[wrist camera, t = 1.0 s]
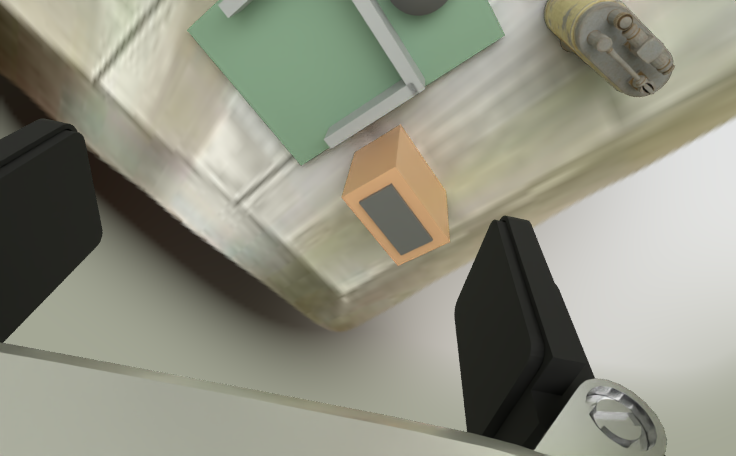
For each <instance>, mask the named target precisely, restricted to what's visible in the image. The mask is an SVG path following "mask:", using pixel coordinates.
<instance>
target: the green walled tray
mask: <svg viewBox="0 0 736 456" xmlns="http://www.w3.org/2000/svg"><path fill="white" fill-rule="evenodd" d="M187 31H188V32H189V33H190V34H191V35H192V37H193V38H194V39H195V40H196V41H197V43H198V44H199V45H200V46H201V47H202V48H203V50H204V51H205V52H206V53H207V54H208V56H209V57H210V58H211V59H212V60H213V62H214V63H215V64H216V65H217V66H218V67H219V69H220V70H221V71H222V72H223V73H224V75H225V76H226V77H227V78H228V79H229V81H230V82H231V83H232V84H233V85H234V86H235V88H236V89H237V90H238V91H239V92H240V94H241V95H242V96H243V97H244V98H245V100H246V101H247V102H248V103H249V104H250V105H251V107H252V108H253V109H254V110H255V111H256V113H257V114H258V115H259V116H260V117H261V119H262V120H263V121H264V122H265V123H266V124H267V126H268V127H269V128H270V129H271V130H272V132H273V133H274V134H275V135H276V136H277V138H278V139H279V140H280V141H281V142H282V143H283V145H284V146H285V147H286V148H287V149H288V151H289V152H290V153H291V154H292V155H293V157H294V158H295V159H296V160H297V161H298V163H299V164H300V165H303V164H304V163H306V162H308V161H309V160H311V159H312V158H314V157H315V156H317V155H319V154H320V153H322V152H323V151H325V150H326V149H328V148H331V149H332V148H333V147H335V146H337V145H338V144H340V143H341V142H343V141H344V140H346V139H348V138H349V137H351V136H352V135H354V134H355V133H357V132H359V131H360V130H362V129H363V128H365V127H366V126H368V125H370V124H371V123H373V122H374V121H376V120H378V119H379V118H381V117H382V116H384V115H385V114H387V113H389V112H390V111H392V110H393V109H395V108H396V107H398V106H400V105H401V104H403V103H404V102H406V101H407V100H409V99H411V98H412V97H414V96H415V95H417V94H418V93H420V92H422V91H423V90H425V86H427V85H428V84H430V83H431V82H433V81H434V80H436V79H438V78H439V77H441V76H442V75H444V74H445V73H447V72H448V71H450V70H452V69H453V68H455V67H456V66H458V65H459V64H461V63H463V62H464V61H466V60H467V59H469V58H470V57H472V56H474V55H475V54H477V53H478V52H480V51H481V50H483V49H485V48H486V47H488V46H489V45H491V44H492V43H494V42H495V41H497V40H499V39H500V38H502V37H503V36H505V34H504V32H503V30H502V28H501V26H500V24H499V22H498V20H497V18H496V16H495V14H494V12H493V10H492V8H491V6H490V4H489V2H488V0H219V1H217V2H216V3H215V4H214V5H213V6H212V7H211V8H210V9H209V10H208V11H207V12H206V13H205V14H204V15H203V16H201V17H200V18H199V19H198V20H197V21H196V22H195V23H194V24H193V25H192V26H191V27H190V28H189V29H188V30H187Z"/></svg>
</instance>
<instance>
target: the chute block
mask: <svg viewBox="0 0 736 456" xmlns="http://www.w3.org/2000/svg"><path fill="white" fill-rule="evenodd" d="M342 199H343V200H344V201H345V202H346V204H347V205H348V206H349V207H350V208H351V210H352V211H353V212H354V213H355V214H356V216H357V217H358V218H359V219H360V221H361V222H362V223H363V224H364V225H365V227H366V228H367V229H368V230H369V231H370V233H371V234H372V235H373V236H374V238H375V239H376V240H377V241H378V242H379V244H380V245H381V246H382V247H383V248H384V250H385V251H386V252H387V253H388V255H389V256H390V257H391V258H392V259H393V261H394V262H395V263H396V264H397V265H398V266H399V265H401V264H403V263H405V262H408V261H410V260H412V259H414V258H416V257H418V256H421V255H423V254H425V253H427V252H429V251H431V250H434V249H436V248H438V247H440V246H442V245H444V244H447V243H449V242H450V236H449V223H448V210H447V197H446V191H445V189H444V188H443V186H442V185H441V183H440V182H439V180H438V179H437V177H436V176H435V175H434V173H433V172H432V170H431V169H430V167H429V166H428V164H427V163H426V161H425V160H424V158H423V157H422V155H421V154H420V152H419V151H418V149H417V148H416V147H415V145H414V144H413V142H412V141H411V139H410V138H409V136H408V135H407V133H406V132H405V130H404V129H403V127H402V126H401V124H400V125H399V126H397V127H395V128H394V129H392V130H390V131H389V132H387V133H386V134H384V135H382V136H381V137H379V138H377V139H376V140H374V141H373V142H371V143H369V144H368V145H366V146H364V147H363V148H361V149H360V150H358V151H356V152H355V153H354V157H353V160H352V163H351V167H350V170H349V174H348V177H347V180H346V184H345V187H344V191H343V194H342Z"/></svg>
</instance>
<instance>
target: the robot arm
mask: <svg viewBox="0 0 736 456" xmlns="http://www.w3.org/2000/svg"><path fill="white" fill-rule="evenodd" d="M101 237H102V226H101V221H100V215H99V210H98V205H97V200H96V195H95V190H94V185H93V180H92V175H91V170H90V165H89V160H88V155H87V149H86V144H85V140H84V137H83V136H82V134H80V133H78V132H77V130H76V128H75V127H74V126H73V125H71V124H67V123H62V122H57V121H53V120H47V119H39V120H37V121H35V122H33V123H31V124H29V125H27V126H25V127H23V128H21V129H19V130H18V131H16V132H14V133H12V134H10V135H8V136H6V137H4V138H2V139H0V456H665V455H664V454H665V452H666V445H667V438H666V435H665V431H664V428H663V426H662V424H661V422H660V420H659V419H658V417H657V416H656V414H655V413H654V412H653V411H652V409H651V408H650V407H649V406H648V405H647V404H646V402H644V401H643V400H642V399H641V398H640V397H638V396H637V395H636V394H635V393H633V392H632V391H630V390H628V389H627V388H625V387H623V386H622V385H620V384H617V383H614V382H612V381H609V380H604V379H596V378H595V377H594V375H593V372H592V370H591V368H590V365H589V362H588V360H587V357H586V355H585V353H584V351H583V348H582V345H581V343H580V340H579V338H578V335H577V333H576V330H575V328H574V325H573V323H572V320H571V318H570V316H569V313H568V311H567V308H566V306H565V303H564V301H563V298H562V296H561V293H560V291H559V289H558V287H557V285H556V284H555V283H554V281H553V278H552V275H551V273H550V270H549V268H548V266H547V263H546V260H545V258H544V256H543V253H542V250H541V248H540V245H539V243H538V241H537V238H536V235H535V233H534V230H533V228H532V225H531V223H530V222H529V221H528V220H523V219H519V218H514V217H509V216H503V217H502V218H501V219H500V221H498V220H493V221H492V222H491V224H490V226H489V229H488V231H487V233H486V235H485V238H484V240H483V242H482V245H481V247H480V249H479V252H478V254H477V256H476V258H475V261H474V263H473V265H472V268H471V270H470V272H469V275H468V277H467V279H466V281H465V284H464V286H463V288H462V291H461V293H460V295H459V298H458V300H457V302H456V306H455V325H456V335H457V343H458V353H459V362H460V371H461V380H462V389H463V397H464V407H465V416H466V425H467V432H464V431H459V430H455V429H449V428H445V427H440V426H435V425H430V424H426V423H421V422H416V421H411V420H407V419H402V418H397V417H393V416H387V415H383V414H378V413H372V412H367V411H362V410H357V409H352V408H346V407H341V406H336V405H331V404H326V403H320V402H315V401H310V400H305V399H299V398H295V397H289V396H284V395H279V394H274V393H269V392H263V391H258V390H253V389H248V388H243V387H237V386H232V385H227V384H221V383H216V382H210V381H206V380H200V379H195V378H190V377H184V376H179V375H174V374H168V373H163V372H158V371H152V370H147V369H142V368H136V367H131V366H126V365H120V364H115V363H110V362H104V361H98V360H94V359H88V358H83V357H77V356H72V355H66V354H61V353H55V352H50V351H45V350H39V349H34V348H28V347H23V346H16V345H11V344H6V343H3V342H4V341H5V340H6V339H7V338H8V337H9V336H10V335H11V334H12V333H13V332H14V331H15V330H16V329H17V328H18V326H20V325H21V324H22V323H23V322H24V321H25V319H26V318H27V317H28V316H29V315H30V314H31V313H32V312H33V311H34V310H35V309H36V308H37V307H38V306H39V305H40V304H41V303H42V302H43V301H44V300H45V299H46V298H47V297H48V296H49V295H50V294H51V293H52V292H53V291H54V290H55V289H56V288H57V287H58V285H60V284H61V283H62V281H64V279H65V278H66V277H67V276H68V275H69V274H70V273H71V272H72V271H73V270H74V269H75V268H76V267H77V266H78V265H79V264H80V263H81V262H82V261H83V260H84V259H85V258H86V257H87V256H88V255H89V254H90V253H91V252H92V251H93V250H94V248H96V246H97V245H98V244H99V243H100V241H101Z"/></svg>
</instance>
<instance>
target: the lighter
mask: <svg viewBox="0 0 736 456" xmlns="http://www.w3.org/2000/svg"><path fill="white" fill-rule="evenodd" d="M544 18H545V22H546V25H547V27H548V28H549V29H550V30H551V31H552V32H553V33H554V34H555V35H556V36H557V37H558V38H560V39H561V41H560V42H561V46H562V48H563V49H564V50H566V51H567V52H574V53H575V54H576V55H577V56H578V57H580V58H581V59H582V60H583V61H584V62H585V63H586V64H588V65H590V66H591V67H592V68H593V69H594V70H595V71H596V72H597V73H598V74H599V75H600V76H602V77H603V78H604V79H605V80H606V81H607V82H608V83H609V84H610V85H611V86H613V87H614V88H615V89H616V90H617V91H619V92H622V93H625V94H627V95H629V96H633V97H642V96H647V95H650V94H654V92H656V91H658V90H659V89H660V88H662V87H663V86H664V85H665V84H666V82H667V81H668V79H669V78H670V76H671V73H672V70H673V69H674V67H675V66H674V64H673V58H672V56H671V53H670V52H669V51H668V50H667V49H666V47H665V46H664V44H663V43H662V42H661V41H660V40H659V39H657V38H656V37H655V36H654V35H653V33H652V32H651V31H650V30H649V29H648V28H647V27H646V26H645V25H644V24H643V23H642V22H641V21H640V20H639V19H638V18H637V17H636V16H635V15H634V14H633V13H632V12H631V11H630V10H629V9H628V8H627V6H626V5H625V4H624V3H623V2H622V1H620V0H548V1H547V4H546V7H545V12H544Z"/></svg>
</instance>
